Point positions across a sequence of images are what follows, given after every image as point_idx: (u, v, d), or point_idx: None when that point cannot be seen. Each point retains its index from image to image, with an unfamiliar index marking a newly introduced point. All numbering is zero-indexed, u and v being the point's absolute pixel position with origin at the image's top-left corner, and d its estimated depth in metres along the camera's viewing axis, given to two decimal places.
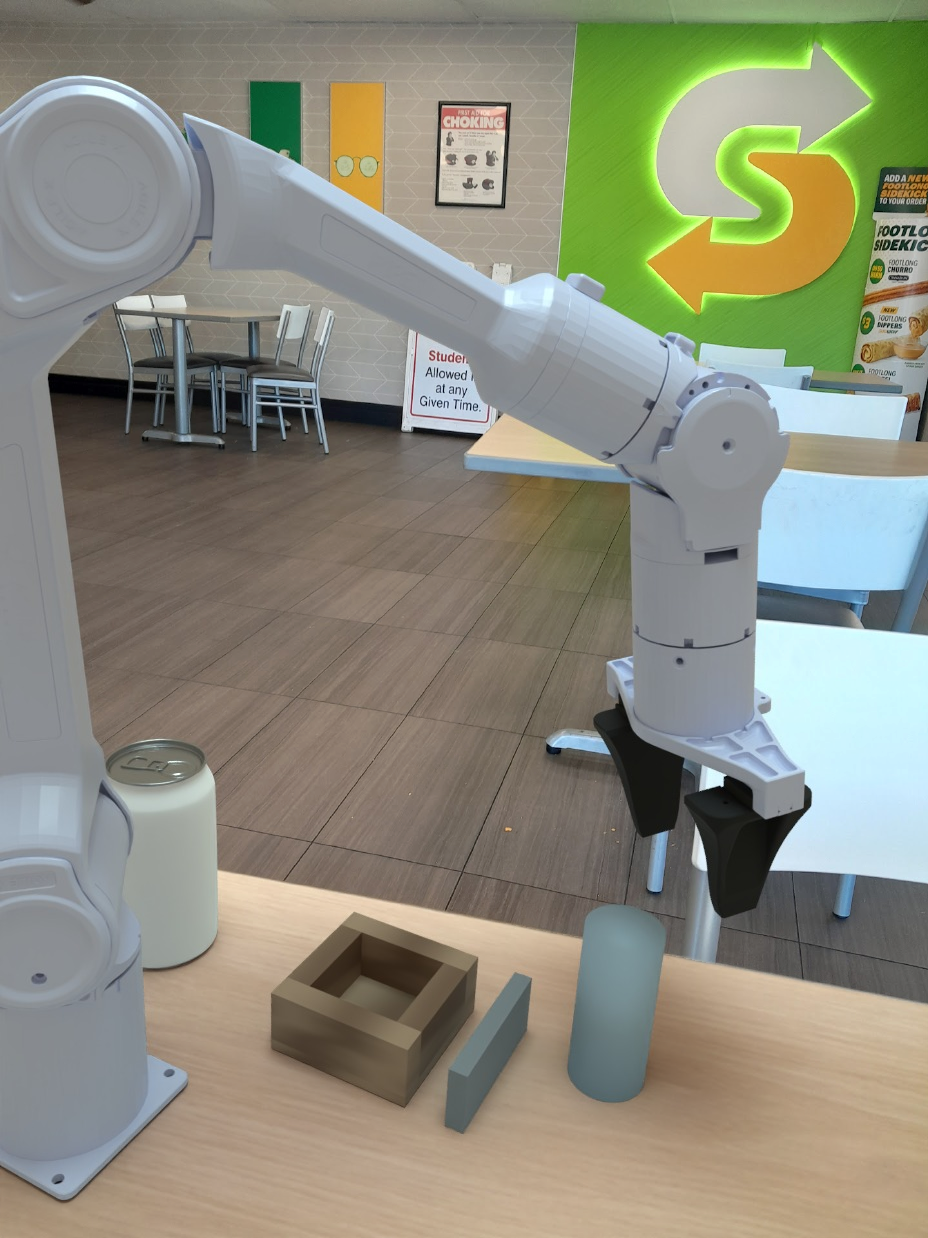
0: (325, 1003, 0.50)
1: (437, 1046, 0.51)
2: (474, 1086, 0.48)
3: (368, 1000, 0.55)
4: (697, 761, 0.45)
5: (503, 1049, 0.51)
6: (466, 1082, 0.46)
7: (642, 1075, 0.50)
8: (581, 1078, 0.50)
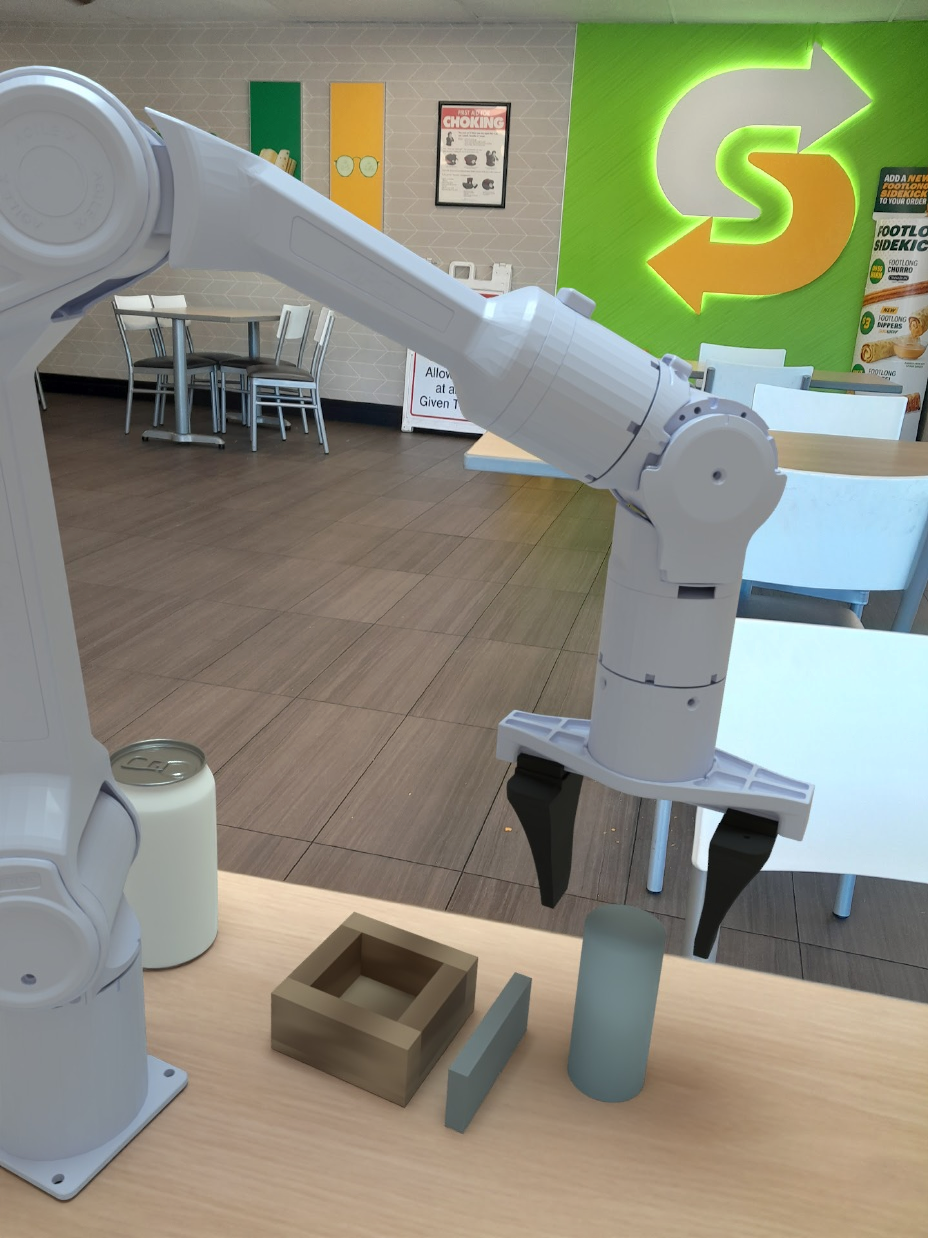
0: (325, 1003, 0.50)
1: (437, 1046, 0.51)
2: (474, 1086, 0.48)
3: (368, 1000, 0.55)
4: (714, 803, 0.43)
5: (503, 1049, 0.51)
6: (466, 1082, 0.46)
7: (642, 1075, 0.50)
8: (581, 1078, 0.50)
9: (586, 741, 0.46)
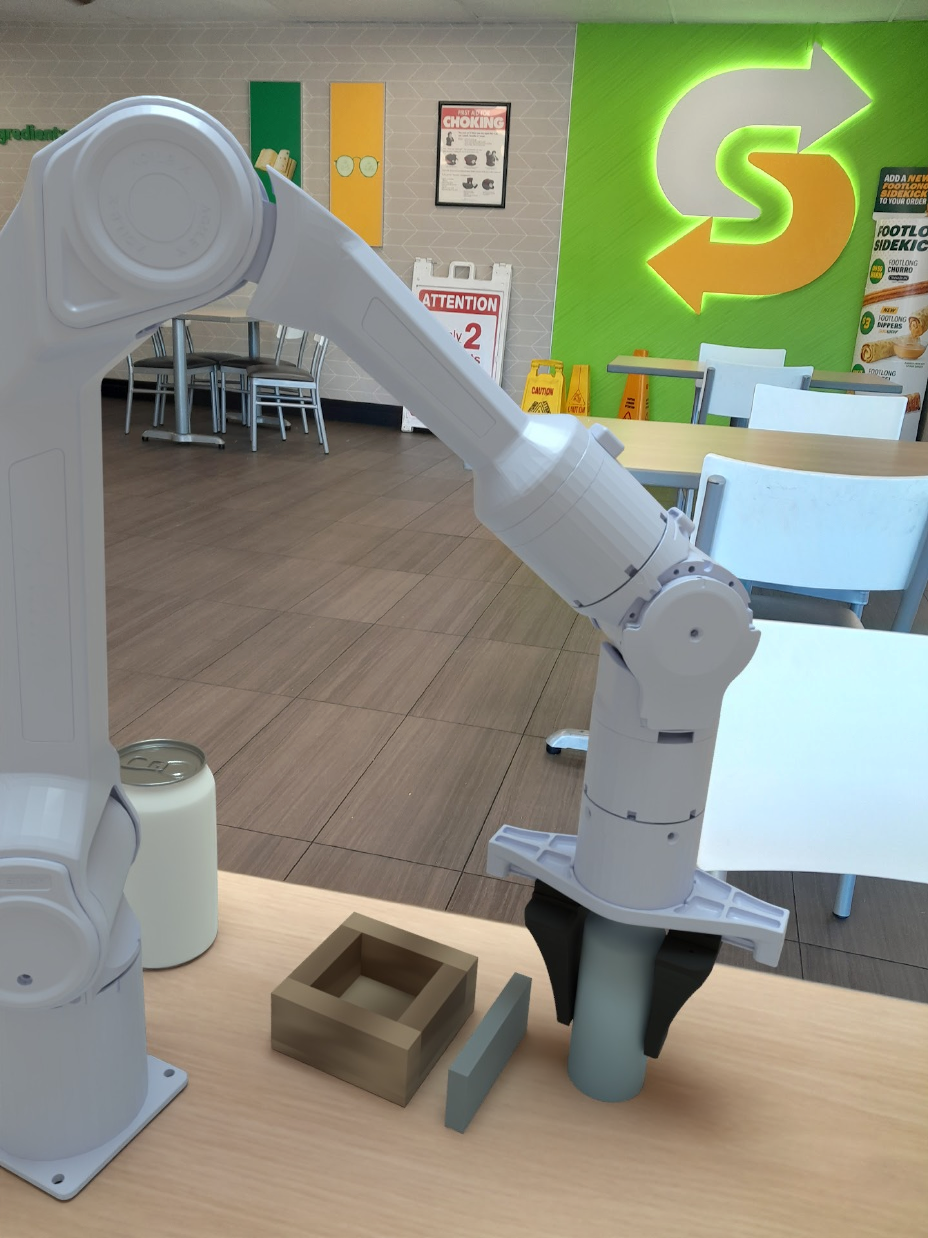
0: (325, 1003, 0.50)
1: (437, 1046, 0.51)
2: (474, 1086, 0.48)
3: (368, 1000, 0.55)
4: (693, 930, 0.45)
5: (503, 1049, 0.51)
6: (466, 1082, 0.46)
7: (642, 1075, 0.50)
8: (581, 1078, 0.50)
9: (572, 861, 0.49)
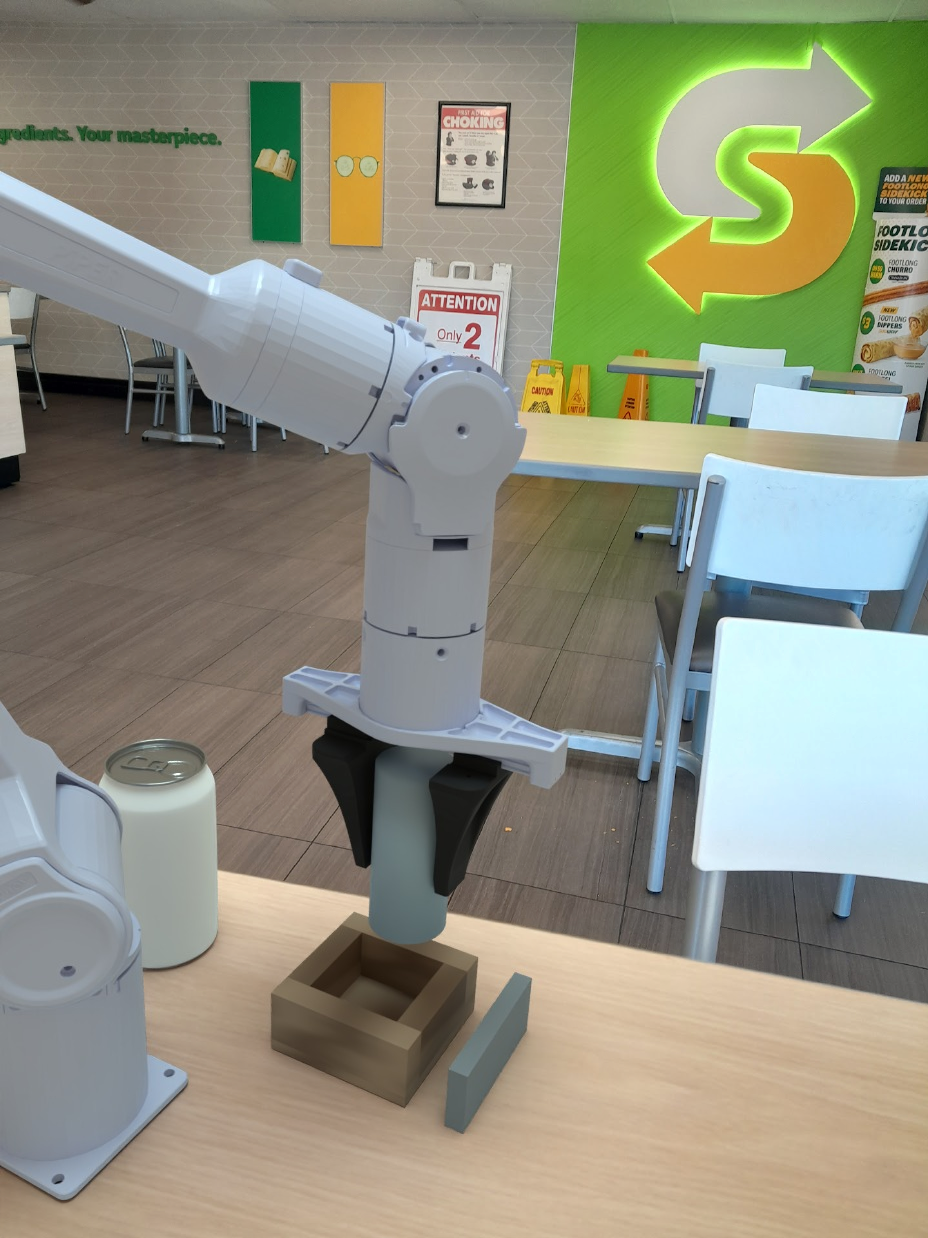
0: (325, 1003, 0.50)
1: (437, 1046, 0.51)
2: (474, 1086, 0.48)
3: (368, 1000, 0.55)
4: (466, 751, 0.44)
5: (503, 1049, 0.51)
6: (466, 1082, 0.46)
7: (438, 917, 0.50)
8: (376, 919, 0.50)
9: None
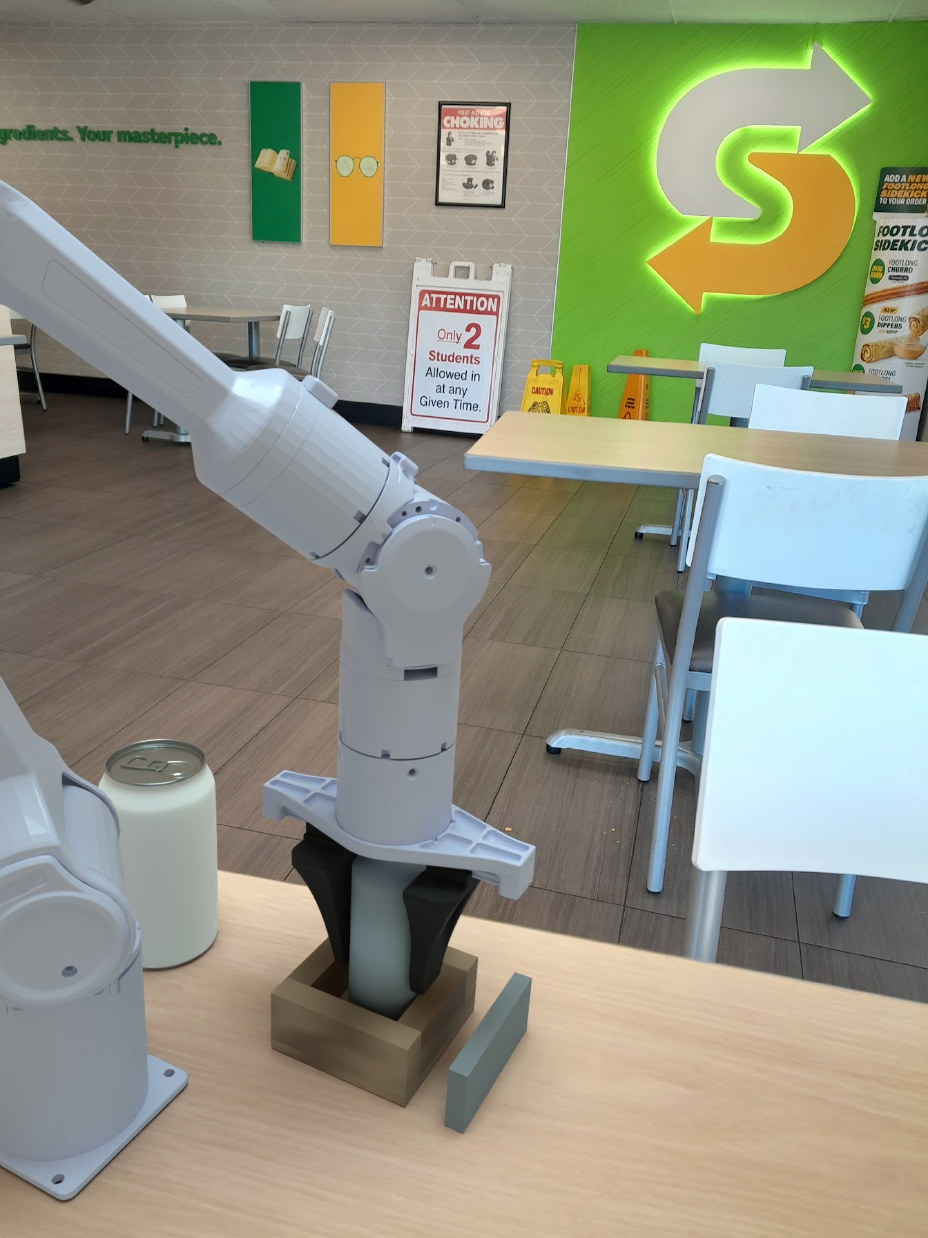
0: (325, 1003, 0.50)
1: (437, 1046, 0.51)
2: (474, 1086, 0.48)
3: None
4: (437, 865, 0.46)
5: (503, 1049, 0.51)
6: (466, 1082, 0.46)
7: None
8: None
9: None
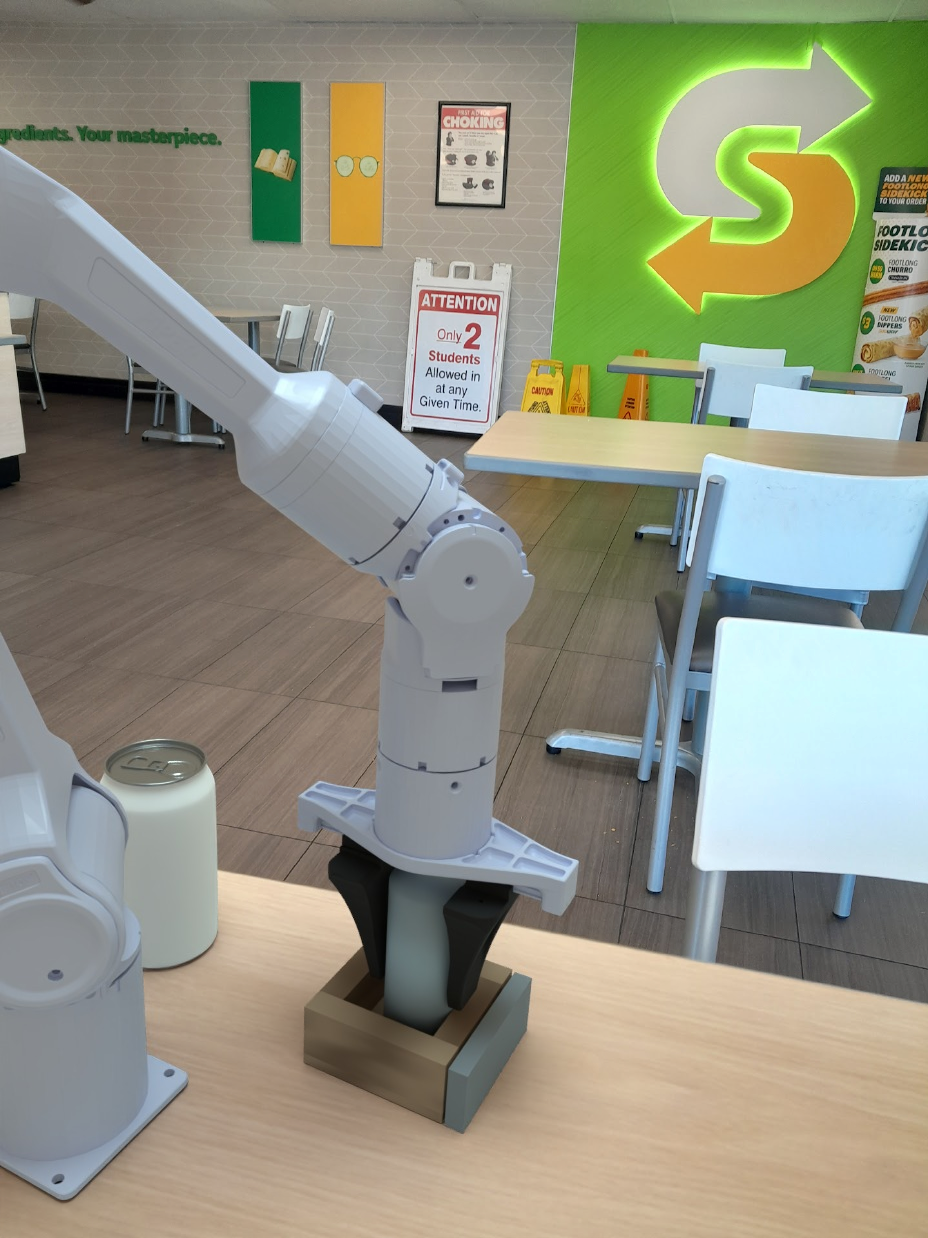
0: (359, 1017, 0.49)
1: None
2: (474, 1086, 0.48)
3: None
4: (479, 879, 0.45)
5: (503, 1049, 0.51)
6: (466, 1082, 0.46)
7: None
8: None
9: None
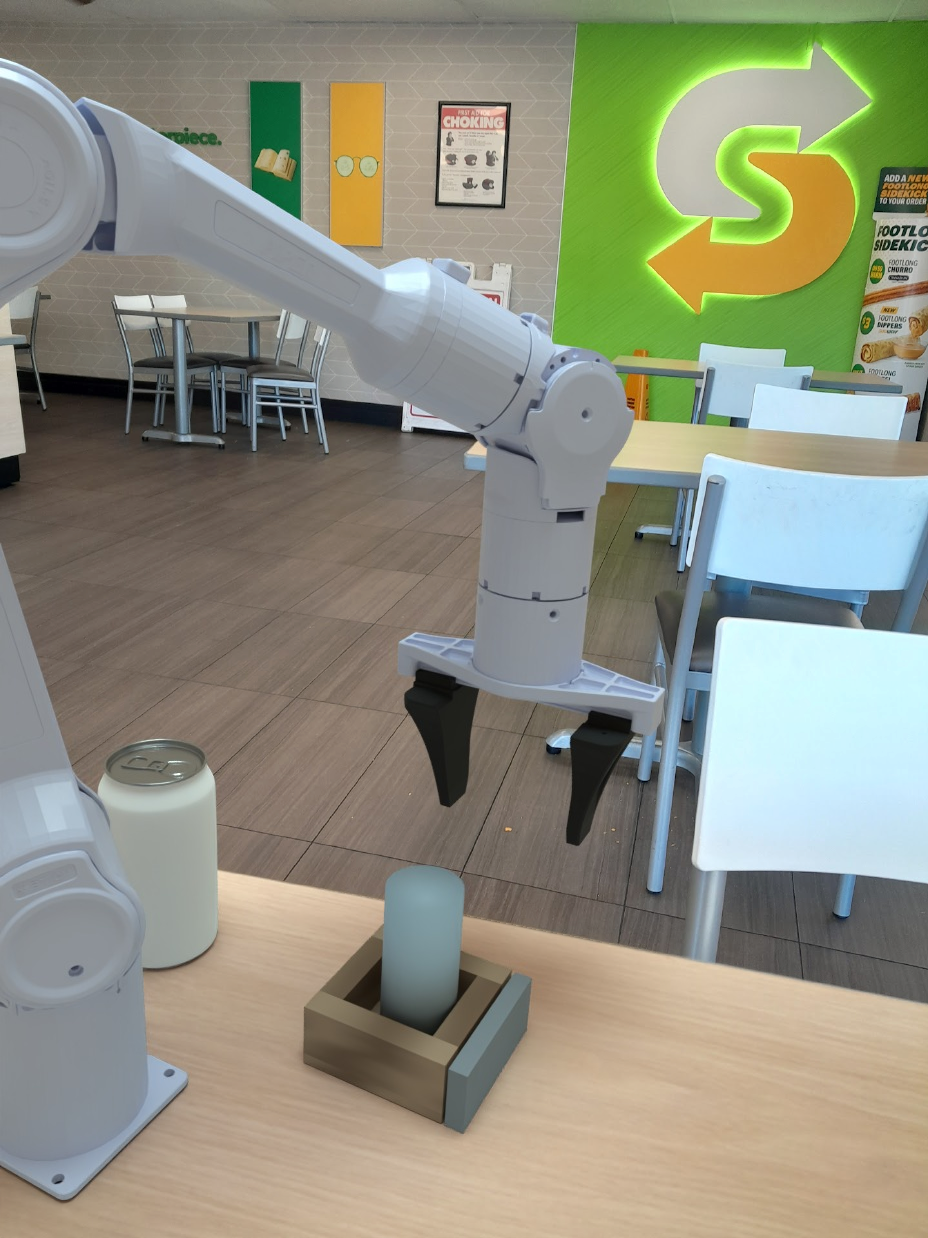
0: (359, 1017, 0.49)
1: None
2: (474, 1086, 0.48)
3: None
4: (574, 703, 0.49)
5: (503, 1049, 0.51)
6: (466, 1082, 0.46)
7: None
8: None
9: (472, 655, 0.53)
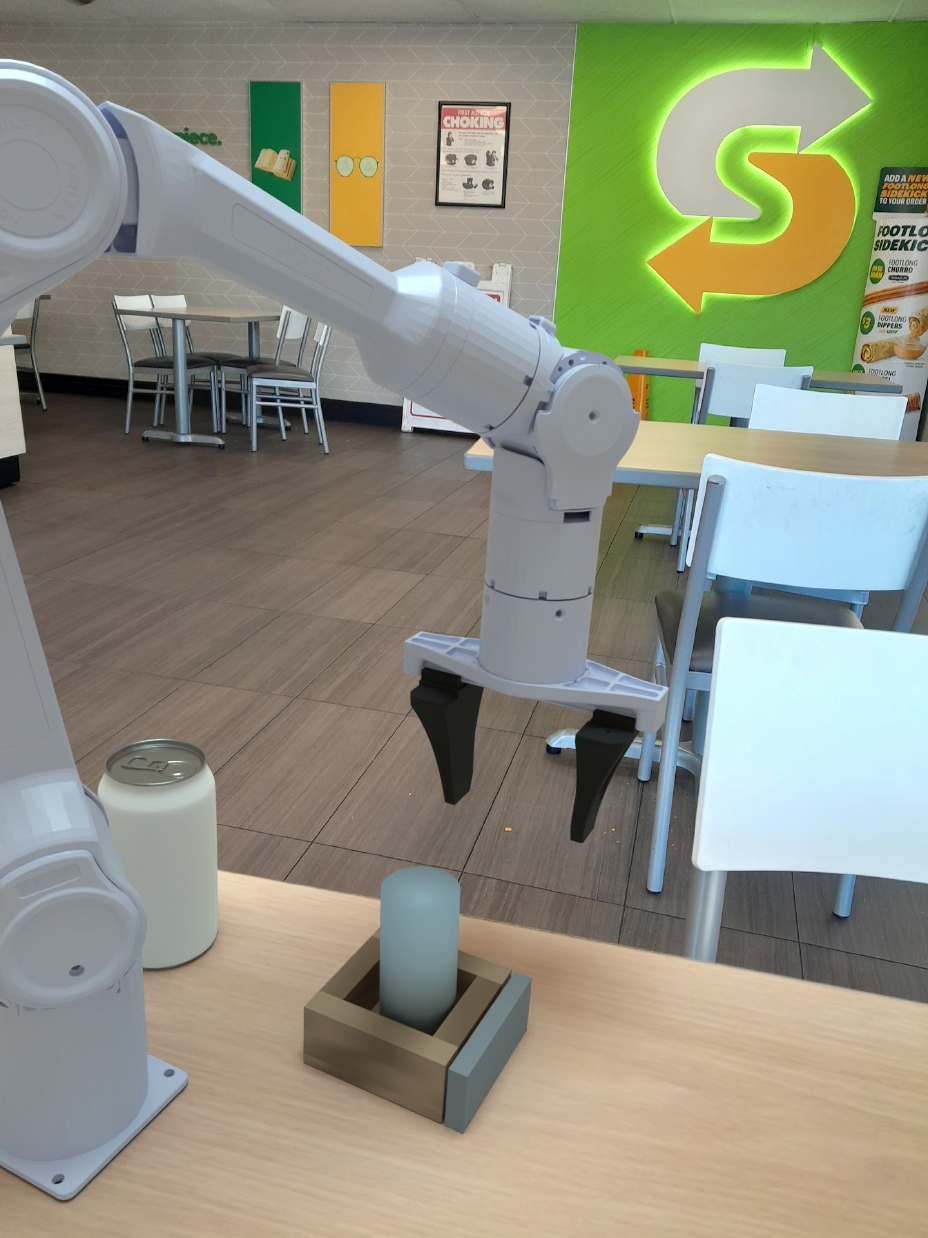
0: (359, 1017, 0.49)
1: None
2: (474, 1086, 0.48)
3: None
4: (580, 701, 0.50)
5: (503, 1049, 0.51)
6: (466, 1082, 0.46)
7: None
8: None
9: (478, 654, 0.54)
